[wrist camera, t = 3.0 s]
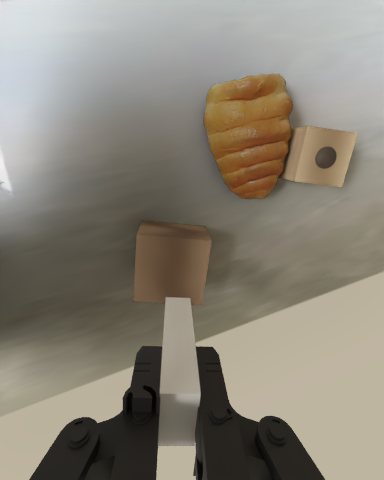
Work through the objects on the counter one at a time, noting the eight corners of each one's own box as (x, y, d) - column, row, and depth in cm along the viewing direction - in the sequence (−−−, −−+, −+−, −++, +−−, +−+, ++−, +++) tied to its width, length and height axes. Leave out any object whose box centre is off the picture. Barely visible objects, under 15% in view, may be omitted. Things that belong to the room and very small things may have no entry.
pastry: (284, 188, 24) (306, 195, 20) (214, 203, 24) (223, 213, 20) (278, 73, 21) (302, 57, 17) (196, 89, 20) (203, 76, 17)
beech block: (274, 176, 24) (295, 181, 20) (285, 130, 23) (308, 125, 19) (315, 181, 24) (342, 187, 20) (327, 136, 23) (359, 133, 19)
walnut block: (139, 277, 26) (132, 301, 22) (142, 219, 24) (136, 234, 20) (197, 281, 27) (202, 305, 23) (204, 225, 25) (211, 240, 21)
